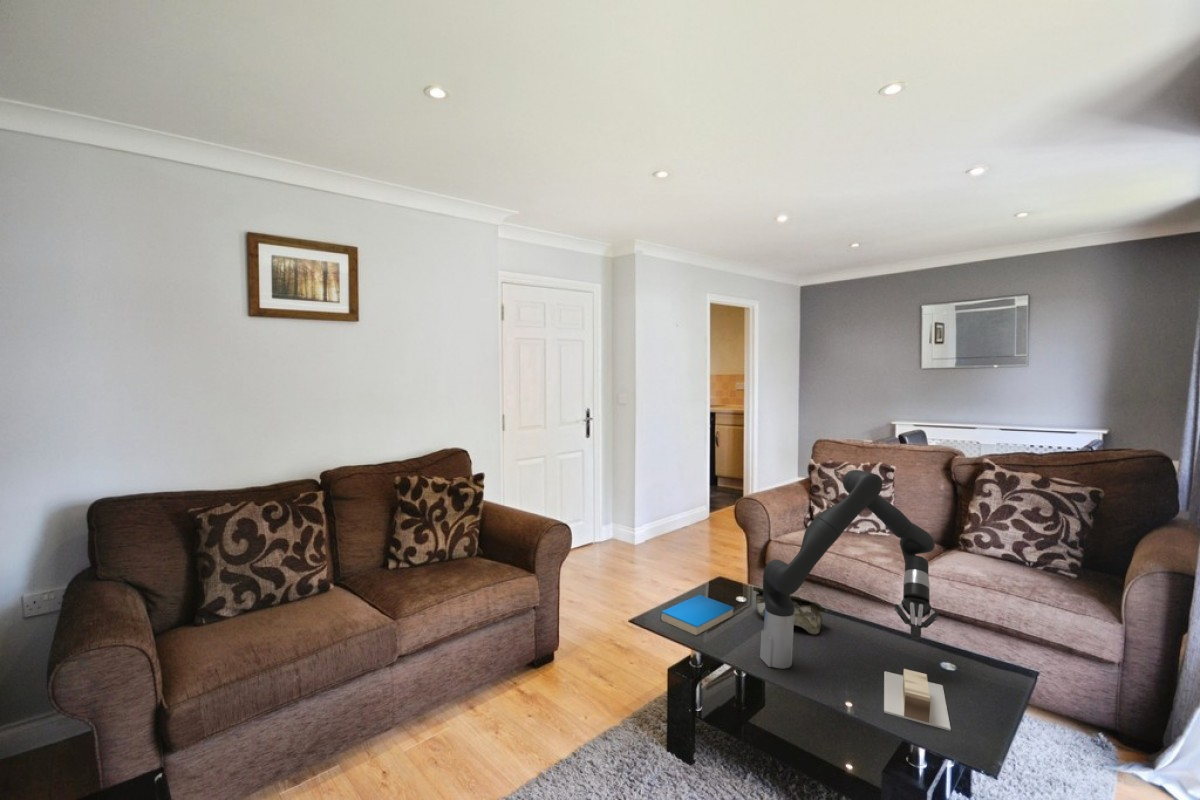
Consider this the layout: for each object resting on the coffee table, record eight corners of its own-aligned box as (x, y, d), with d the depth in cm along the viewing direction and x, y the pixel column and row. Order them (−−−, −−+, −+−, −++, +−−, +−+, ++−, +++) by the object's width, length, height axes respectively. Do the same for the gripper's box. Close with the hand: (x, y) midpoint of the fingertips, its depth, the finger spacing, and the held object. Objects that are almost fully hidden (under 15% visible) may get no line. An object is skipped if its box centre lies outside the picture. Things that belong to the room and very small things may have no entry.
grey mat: (950, 730, 149) (950, 728, 149) (884, 712, 156) (884, 710, 156) (942, 687, 170) (942, 685, 170) (884, 672, 177) (884, 671, 177)
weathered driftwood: (750, 624, 220) (739, 605, 212) (760, 595, 227) (750, 576, 219) (822, 645, 202) (813, 626, 194) (831, 614, 209) (822, 593, 201)
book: (734, 607, 216) (697, 625, 199) (733, 617, 217) (697, 637, 199) (697, 593, 228) (660, 610, 211) (697, 604, 229) (659, 621, 211)
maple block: (925, 693, 165) (929, 723, 151) (902, 687, 168) (904, 716, 154) (926, 674, 165) (930, 701, 151) (903, 668, 168) (905, 695, 153)
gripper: (894, 577, 184) (892, 628, 174) (940, 585, 178) (941, 638, 168) (893, 588, 189) (891, 637, 179) (938, 596, 183) (939, 648, 173)
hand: (915, 638), depth 173 cm, fingers closed
